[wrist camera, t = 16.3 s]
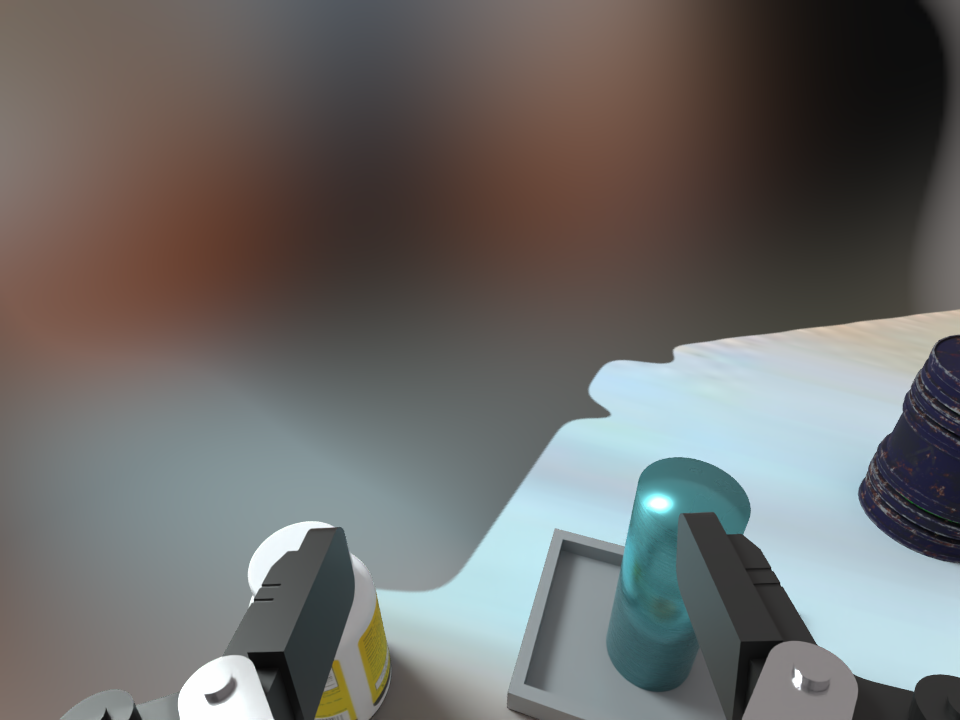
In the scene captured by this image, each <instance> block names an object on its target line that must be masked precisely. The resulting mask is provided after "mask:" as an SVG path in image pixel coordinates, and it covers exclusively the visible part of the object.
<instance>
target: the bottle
mask: <svg viewBox="0 0 960 720" xmlns="http://www.w3.org/2000/svg"><path fill="white" fill-rule="evenodd" d="M750 511H751V508H750V502H749V499H748V497H747V495H746V493H745V491H744V490H743V488H742V487H741V486H740V485H739V483H738V482H737V481H736V480H735V479H734V478H733V477H731V476H730V475H729V474H727V473H726V472H724V471H723V470H721V469H719V468H718V467H716V466H714V465H711V464H709V463H706V462H703V461H700V460H696V459H691V458H682V457H674V458H666V459H662V460H659V461H656V462H654V463H652V464H651V465H649V466H648V467H647V468H646V469H645V470H644V471H643V472H642V474H641V476H640V478H639V481H638V486H637V491H636V496H635V500H634V505H633V510H632V515H631V520H630V525H629V529H628V534H627V539H626V544H625V549H624V554H623V558H622V563H621V568H620V573H619V578H618V583H617V587H616V592H615V597H614V602H613V607H612V612H611V617H610V621H609V626H608V631H607V636H606V646H607V652H608V655H609V657H610V660H611V662H612V664H613V665H614V667H615V668H616V670H617V671H618V672H619V673H620V674H621V675H622V676H623V677H624V678H625V679H626V680H627V681H629V682H630V683H632V684H633V685H635V686H637V687H639V688H642V689H644V690H648V691H653V692H665V691H670V690H673V689H675V688H677V687H678V686H680V685H681V684H682V683H683V682H684V681H685V680H686V679H687V677H688V675H689V673H690V671H691V668H692V666H693V663H694V660H695V658H696V655H697V653H698V650H699V648H700V646H699V643H698V640H697V638H696V635H695V632H694V629H693V627H692V624H691V621H690V618H689V616H688V613H687V610H686V607H685V605H684V602H683V599H682V597H681V594H680V590H679V586H678V581H677V574H676V555H677V535H678V518H679V515H680V514H681V513H699V512H714V513H715V514H716V515H717V517H718V519H719V521H720V523H721V525H722V526H723V528H724V530H725V532H726V534H742V535H743V534H744V531H745V528H746V526H747V523H748V521H749V518H750Z"/></svg>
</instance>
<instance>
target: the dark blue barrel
mask: <svg viewBox="0 0 960 720" xmlns="http://www.w3.org/2000/svg"><path fill="white" fill-rule="evenodd" d="M858 496H859V501H860V504H861V506H862V508H863V510H864V511H865V513H866V515H867V516H868V517H869V518H870V520H871V521H872V522H873V523H874V524H875V525H876V526H877V527H878V528H879V529H881V530H882V531H883V532H884V533H885V534H887V535H888V536H889V537H891V538H892V539H894V540H895V541H897V542H898V543H900V544H902V545H904V546H905V547H907V548H909V549H911V550H914V551H916V552H918V553H920V554H923V555H926V556H928V557H932V558H935V559H939V560H943V561H949V562H958V563H960V335H953V336H948V337H945V338H943V339H941V340H939V341H938V342H937V343H936V344H935V345H934V347H933V349H932V351H931V353H930V355H929V358H928V359H927V360H926V362H925V364H924V366H923V368H922V369H921V370H920V371H919V372H918V374H917V375H916V377H915V379H914V381H913V383H912V386H911V389H910V390H909V391H908V392H907V393H906V396H905V398H904V403H903V413H902V415H901V417H900V419H899V420H898V422H897V424H896V426H895V428H894V430H893V432H892V433H890V434H889V435H887V436H886V437H885V438H884V439H883V441H882V442H881V443H880V444H879V446H878V448H877V452H876V453H875V455H874V457H873V458H872V461H871V462H870V465H869V468H868V472H867V474H866V477H865V478H864V479H863V481H862V483H861V485H860V487H859V492H858Z"/></svg>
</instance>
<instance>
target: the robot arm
mask: <svg viewBox="0 0 960 720" xmlns="http://www.w3.org/2000/svg"><path fill="white" fill-rule="evenodd" d="M676 574H677V581H678V586H679V590H680V594H681V597H682V599H683V602H684V605H685V607H686V610H687V613H688V616H689V618H690V621H691V624H692V627H693V629H694V632H695V635H696V638H697V640H698V643H699V646H700V649H701V651H702V654H703V657H704V659H705V662H706V665H707V668H708V670H709V673H710V676H711V679H712V681H713V684H714V687H715V690H716V692H717V695H718V698H719V701H720V703H721V706H722V709H723V711H724V714H725V717H726V720H960V678H959V677H955V676H950V675H941V674H940V675H930V676H926V677H924V678H922V679H921V680H920V681H919V682H918V683H917V685H916V687H915V690H914V692H913V691H909V690H905V689H901V688H897V687H892V686H888V685H884V684H880V683H876V682H872V681H869V680H866V679H863V678H860V677H858V676H856V675H854V674H853V673H852V672H851V670H850V669H849V668H848V666H847V665H846V664H845V663H844V662H843V661H842V660H841V659H839V658H838V657H837V656H835V655H834V654H833V653H831V652H829V651H828V650H826V649H824V648H822V647H820V646H818V645H817V644H816V642H815V641H814V639H813V637H812V636H811V634H810V632H809V630H808V629H807V627H806V625H805V624H804V622H803V620H802V619H801V617H800V615H799V614H798V612H797V610H796V609H795V607H794V605H793V604H792V602H791V600H790V598H789V597H788V595H787V593H786V592H785V590H784V588H783V587H781V585H780V582H779V580H778V578H777V577H776V575H775V573H774V572H773V571H772V570H771V566H770V565H769V563H768V561H767V560H766V558H765V556H764V555H763V553H762V551H761V550H760V549H759V548H758V547H757V546H756V545H754V544H753V543H752V542H751V541H750V540H748V539H747V538H746V537H745V536H743V535H742V534H726V532H725V530H724V528H723V526H722V525H721V523H720V521H719V519H718V517H717V515H716V514H715V513H714V512H699V513H681V514H680V515H679V518H678V535H677V555H676ZM354 594H355V578H354V572H353V568H352V563H351V559H350V554H349V550H348V546H347V541H346V537H345V533H344V530H343V529H342V528H341V527H332V528H311V529H309V531H308V532H307V534H306V536H305V538H304V540H303V542H302V544H301V546H300V548H299V550H298V551H287V552H286V553H285V554H284V555H283V556H282V557H281V558H280V559H279V560H278V561H277V562H276V563H275V564H274V565H273V566H271V568H270V570H269V572H268V574H267V575H266V577H265V579H264V581H263V583H262V587H261V588H259V590H258V592H257V594H256V596H255V597H254V602H253V603H251V605H250V607H249V609H248V610H247V612H246V614H245V616H244V618H243V619H242V621H241V623H240V625H239V627H238V629H237V630H236V632H235V634H234V636H233V638H232V640H231V642H230V643H229V645H228V647H227V649H226V651H225V652H224V654H223V656H222V657H221V658H218V659H215V660H213V661H211V662H209V663H208V664H206V665H204V666H203V667H201V668H200V669H199V670H198V671H196V672H195V673H194V674H193V675H192V676H191V677H190V678H189V680H188V681H187V682H186V684H185V685H184V687H183V689H182V690H181V691H180V692H177V693H174V694H171V695H168V696H165V697H161V698H158V699H155V700H152V701H148V702H145V703H142V704H139V705H135V703H134V701H133V699H132V697H131V695H130V694H129V693H128V692H126V691H124V690H119V689H112V690H106V691H103V692H99V693H97V694H94V695H92V696H90V697H88V698H86V699H84V700H83V701H81V702H80V703H78V704H77V705H76V706H74V707H73V708H71V709H70V710H69V711H68V712H67V713H66V714H65V715H63V717H62V718H61V719H60V720H314V719H315V716H316V713H317V710H318V707H319V704H320V701H321V698H322V695H323V692H324V689H325V685H326V682H327V679H328V676H329V673H330V670H331V667H332V664H333V661H334V658H335V655H336V652H337V649H338V646H339V643H340V640H341V637H342V634H343V631H344V628H345V625H346V622H347V619H348V616H349V613H350V610H351V607H352V604H353V600H354Z"/></svg>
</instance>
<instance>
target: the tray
mask: <svg viewBox="0 0 960 720" xmlns="http://www.w3.org/2000/svg"><path fill="white" fill-rule="evenodd" d="M624 549H625V547H624V546H620V545H617V544H613V543H609V542H605V541H601V540H597V539H594V538H590V537H586V536H582V535H578V534H575V533H571V532H567V531H563V530H559V529H555V530H554V533H553V537H552V540H551V544H550V547H549V551H548V554H547V558H546V561H545V565H544V568H543V572H542V575H541V578H540V582H539V585H538V589H537V592H536V596H535V599H534V603H533V606H532V610H531V613H530V617H529V620H528V623H527V627H526V630H525V634H524V637H523V641H522V644H521V648H520V651H519V655H518V658H517V662H516V665H515V669H514V672H513V675H512V679H511V682H510V686H509V689H508V696H507V708H509V709H512V710H514V711H517V712H520V713H523V714H525V715H528V716H531V717H534V718H537V719H539V720H726V717H725V714H724V711H723V709H722V706H721V703H720V701H719V698H718V695H717V692H716V690H715V687H714V684H713V681H712V679H711V676H710V673H709V670H708V668H707V665H706V662H705V659H704V657H703V654H702V651H701V649H700V648H699V650H698V653H697V655H696V658H695V660H694V663H693V666H692V668H691V671H690V673H689V675H688V677H687V679H686V680H685V681H684V682H683V683H682V684H681V685H680V686H678V687H677V688H675V689H673V690H670V691H665V692H653V691H648V690H644V689H642V688H639V687H637V686H635V685H633V684H632V683H630V682H629V681H627V680H626V679H625V678H624V677H623V676H622V675H621V674H620V673H619V672H618V671H617V670H616V668H615V667H614V665H613V664H612V662H611V660H610V657H609V655H608V652H607V646H606V636H607V631H608V626H609V621H610V617H611V612H612V607H613V602H614V597H615V592H616V587H617V583H618V578H619V573H620V568H621V563H622V558H623V554H624Z"/></svg>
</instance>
